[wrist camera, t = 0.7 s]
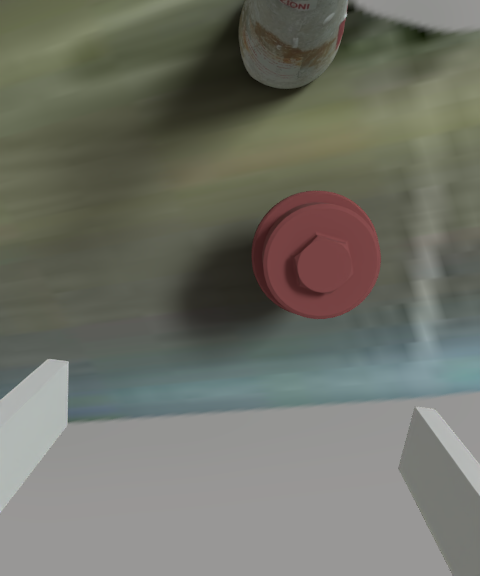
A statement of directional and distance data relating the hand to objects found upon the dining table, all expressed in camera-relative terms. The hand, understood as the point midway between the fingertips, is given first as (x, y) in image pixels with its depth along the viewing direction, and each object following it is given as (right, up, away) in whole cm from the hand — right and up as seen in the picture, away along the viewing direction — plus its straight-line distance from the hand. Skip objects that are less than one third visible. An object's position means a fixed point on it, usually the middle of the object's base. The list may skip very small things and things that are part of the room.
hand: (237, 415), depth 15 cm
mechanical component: (+6, +9, +24) cm, 27 cm away
